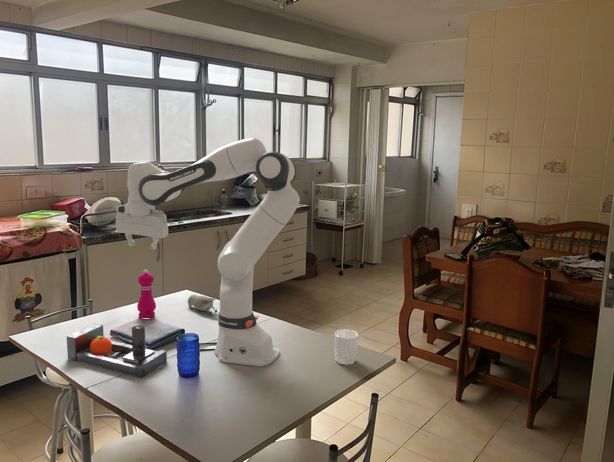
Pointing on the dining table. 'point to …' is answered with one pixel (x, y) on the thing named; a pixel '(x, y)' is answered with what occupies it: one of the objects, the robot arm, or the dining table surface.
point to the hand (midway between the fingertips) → (142, 247)
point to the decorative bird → (201, 303)
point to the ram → (138, 346)
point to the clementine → (101, 346)
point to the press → (81, 352)
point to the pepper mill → (146, 296)
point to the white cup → (345, 346)
